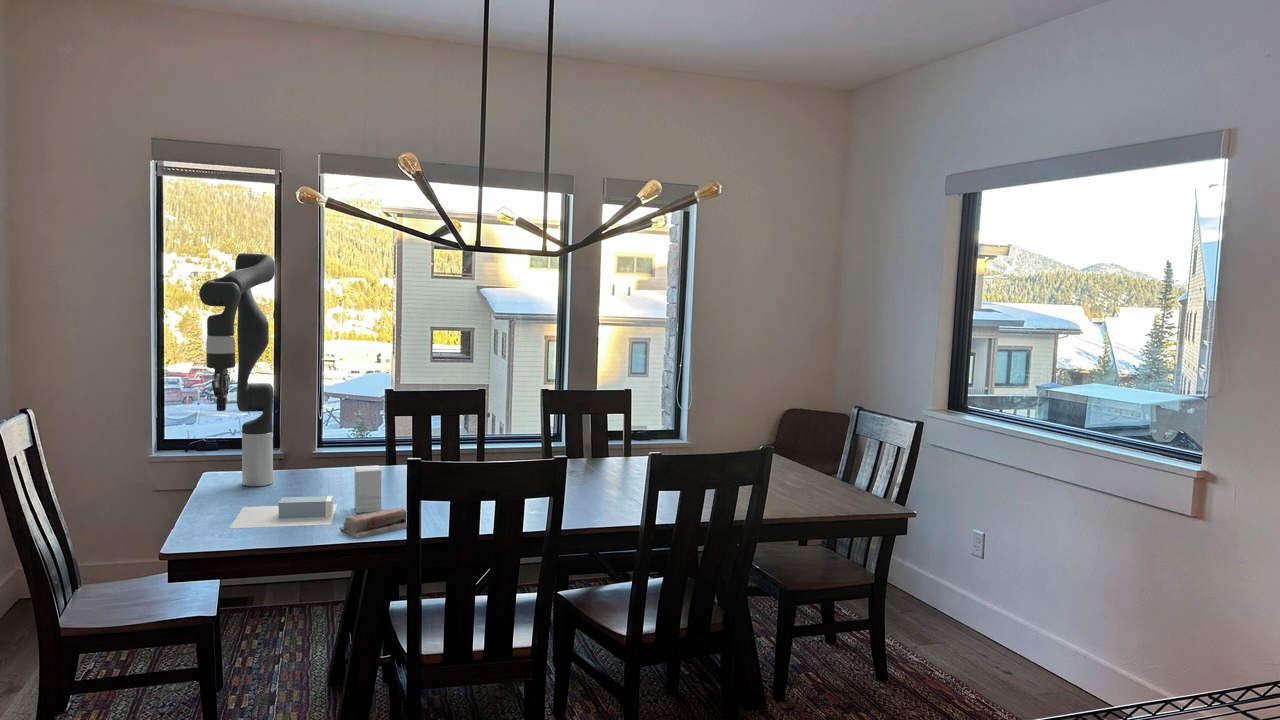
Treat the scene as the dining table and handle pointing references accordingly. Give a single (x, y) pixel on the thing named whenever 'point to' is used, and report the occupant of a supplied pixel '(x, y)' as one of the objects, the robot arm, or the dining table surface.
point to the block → (305, 507)
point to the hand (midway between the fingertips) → (221, 410)
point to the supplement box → (367, 489)
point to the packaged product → (375, 523)
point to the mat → (274, 518)
